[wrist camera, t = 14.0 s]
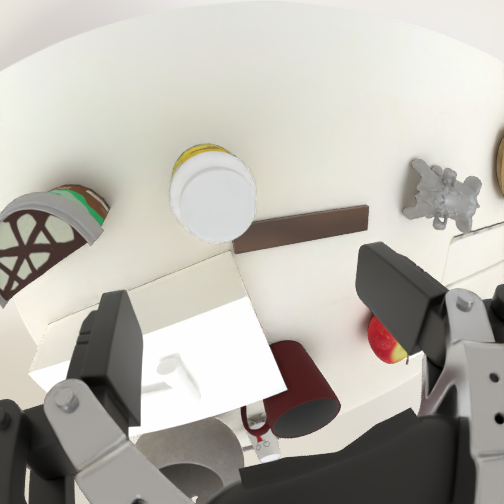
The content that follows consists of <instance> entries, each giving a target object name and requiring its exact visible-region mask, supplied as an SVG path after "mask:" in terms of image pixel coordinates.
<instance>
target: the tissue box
mask: <svg viewBox="0 0 504 504" xmlns="http://www.w3.org/2000/svg"><path fill="white" fill-rule="evenodd" d="M127 293H128V295H129V298H130V301H131V304H132V306H133V309H134V312H135V314H136V317H137V320H138V322H139V325H140V328H141V331H142V336H143V360H142V382H141V426H139V427H129V436H135V435H140V434H145V433H149V432H154V431H158V430H163V429H167V428H171V427H175V426H179V425H183V424H187V423H191V422H194V421H198V420H201V419H205V418H208V417H212V416H215V415H218V414H221V413H224V412H228V411H231V410H234V409H237V408H240V407H243V406H246V405H248V404H251V403H254V402H257V401H260V400H262V399H265V398H268V397H270V396H273V395H275V394H278V393H281V392H283V391H286V390H287V388H286V385H285V383H284V380H283V378H282V376H281V373H280V371H279V368H278V366H277V364H276V361H275V359H274V356H273V354H272V352H271V349H270V347H269V344H268V342H267V339H266V337H265V335H264V332H263V330H262V327H261V325H260V323H259V320H258V318H257V315H256V313H255V311H254V308H253V306H252V303H251V301H250V298H249V296H248V294H247V291H246V289H245V286H244V284H243V281H242V279H241V276H240V274H239V271H238V269H237V266H236V264H235V262H234V259H233V257H232V254H231V252H230V250H229V251H227V252H224V253H222V254H219V255H217V256H214V257H212V258H209V259H207V260H204V261H202V262H199V263H197V264H194V265H192V266H189V267H187V268H184V269H182V270H179V271H177V272H174V273H172V274H169V275H167V276H164V277H162V278H159V279H157V280H155V281H152V282H150V283H147V284H145V285H142V286H140V287H137V288H135V289H132V290H130V291H128V292H127ZM98 307H99V303H98V304H96V305H94V306H91V307H89V308H86V309H84V310H82V311H79V312H77V313H74V314H72V315H69V316H67V317H65V318H62V319H60V320H58V321H55V322H53V323H50V324H48V326H47V328H46V331H45V333H44V335H43V337H42V340H41V342H40V344H39V347H38V349H37V351H36V354H35V356H34V359H33V361H32V364H31V366H30V369H29V372H28V374H29V375H30V376H31V377H32V378H33V379H34V380H35V381H36V382H37V383H38V384H39V385H40V386H41V387H42V388H43V389H44V390H45V391H46V392H47V393H48V391H49V390H50V389H51V388H52V387H53V386H54V385H55V384H57V383H58V382H60V381H63V380H65V379H66V376H67V372H68V368H69V364H70V361H71V357H72V354H73V351H74V347H75V345H76V341H77V338H78V335H79V331H80V328H81V325H82V322H83V321H84V319H85V318H86V317H87V316H88V315H89V313H90V312H91V311H93V310H98Z"/></svg>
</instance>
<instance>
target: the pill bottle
mask: <svg viewBox="0 0 504 504" xmlns="http://www.w3.org/2000/svg"><path fill="white" fill-rule="evenodd" d="M169 199H170V205H171V209H172V212H173V214H174V216H175V217H176V219H177V220H178V222H179V223H180V224H181V225H182V226H183V227H184V228H186V229H187V230H188V231H189V232H190V233H191V234H192V235H193V236H195V237H196V238H198V239H200V240H202V241H205V242H208V243H225V242H229V241H231V240H234V239H236V238H237V237H239V236H240V235H242V234H243V233H244V232H245V231H246V230H247V229H248V228H249V226H250V225H251V223H252V221H253V219H254V217H255V213H256V184H255V180H254V178H253V175H252V173H251V172H250V170H249V169H248V167H247V166H246V165H245V164H244V163H243V162H242V161H241V160H240V159H238V158H237V157H236V156H235V155H233V154H231V153H230V152H228V151H227V150H225V149H224V148H222V147H220V146H217V145H213V144H199V145H196V146H193V147H191V148H189V149H188V150H186V151H185V152H184V153H183V154H182V155H181V156H180V157H179V158H178V160H177V162H176V164H175V166H174V168H173V173H172V179H171V184H170V190H169Z"/></svg>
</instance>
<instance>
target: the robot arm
mask: <svg viewBox="0 0 504 504" xmlns="http://www.w3.org/2000/svg"><path fill="white" fill-rule="evenodd" d="M355 286H356V291H357V294H358V296H359V298H360V299H361V300H362V302H363V303H364V304H365V305H366V306H367V307H368V308H369V309H370V311H371V312H372V313H373V314H374V315H375V316H376V317H377V319H378V320H379V321H380V322H381V323H382V324H383V325H384V327H385V328H386V329H387V330H388V331H389V332H390V334H391V335H392V336H393V337H394V338H395V339H396V341H397V342H398V343H399V344H400V345H401V346H402V348H403V349H404V350H405V351H406V352H407V354H408V355H409V356H412V355H414V354H416V353H418V352H420V351H423V352H424V353H425V354H424V357H423V359H422V390H421V391H422V392H421V405H420V409H419V412H418V415H417V416H416V414H415V413H414V411H413V410H412V409H411V408H409V409H407V410H405V411H403V412H401V413H399V414H397V415H395V416H393V417H391V418H389V419H387V420H385V421H383V422H381V423H378V424H376V425H375V426H373V427H372V428H371V429H370V430H368V431H367V432H366V433H364V434H363V435H362V436H360V437H359V438H358V439H356V440H355V441H353V442H352V443H351V444H349V445H348V446H346V447H345V448H344V449H342V450H340V451H338V452H335V453H327V454H318V455H309V456H298V457H285V458H282V459H278V460H274V461H270V462H266V463H262V464H258V465H254V466H249V467H244V468H239V469H238V470H239V473H240V477H241V479H239V480H237V481H234V482H232V483H230V484H229V485H227V486H225V487H223V488H222V489H220V490H219V491H217V492H216V493H215V494H213V495H212V496H211V497H210V498H209V499H208V500H206V501H205V502H204V504H504V284H501V285H498V286H497V288H496V290H495V293H494V296H493V298H492V299H485V300H482V299H481V298H480V297H479V296H478V295H476V294H475V293H473V292H471V291H469V290H466V289H460V288H456V289H452V290H450V291H449V290H448V289H447V288H446V287H444V286H443V285H442V284H441V283H439V282H438V281H437V280H436V279H434V278H433V277H432V276H431V275H429V274H428V273H427V272H424V270H423V269H422V268H420V267H419V266H416V264H415V263H414V262H413V261H411V260H410V259H409V258H407V257H405V256H403V255H401V254H398V253H396V252H395V251H394V250H392V249H391V248H390V247H388V246H387V245H385V244H384V243H383V242H375V243H370V244H365V245H362V246H361V247H360V249H359V254H358V264H357V273H356V282H355ZM142 360H143V336H142V331H141V328H140V325H139V322H138V320H137V317H136V314H135V312H134V309H133V306H132V304H131V301H130V298H129V295H128V293H127V291H126V290H119V291H114V292H108V293H103V295H102V297H101V300H100V303H99V307H98V310H93V311H91V312H90V313H89V315H88V316H87V317H86V318H85V319H84V321H83V322H82V325H81V328H80V331H79V335H78V338H77V341H76V345H75V347H74V351H73V354H72V357H71V361H70V364H69V368H68V372H67V376H66V379H65V380H63V381H60V382H58V383H57V384H55V385H54V386H53V387H52V388H51V389H50V390H49V391H48V393H47V395H46V397H45V400H44V404H42V405H39V406H36V407H33V408H30V409H26V410H23V411H22V409H21V408H20V407H19V406H18V405H17V404H16V403H15V402H14V401H12V400H10V399H4V400H0V504H27V503H26V500H25V496H24V491H25V475H26V467H27V468H28V469H30V482H29V504H75V493H74V479H75V481H76V483H77V485H78V486H79V488H80V490H81V491H82V492H83V494H84V495H85V497H86V498H87V500H88V501H89V502H90V504H196V503H194V502H193V501H192V500H191V499H190V498H188V497H187V496H186V495H185V494H184V493H183V492H182V491H180V490H179V489H178V488H177V487H176V486H175V485H174V484H173V483H172V482H170V481H169V480H168V479H167V478H166V477H165V476H164V475H163V474H162V473H161V472H160V471H159V470H158V469H157V468H156V467H155V466H154V465H153V464H152V463H151V462H150V461H149V460H148V459H147V458H146V457H145V456H144V455H143V454H142V453H141V451H140V450H139V449H138V448H137V447H136V446H135V445H134V444H133V443H132V442H131V440H130V439H129V427H139V426H141V382H142ZM74 473H75V474H74Z"/></svg>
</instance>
